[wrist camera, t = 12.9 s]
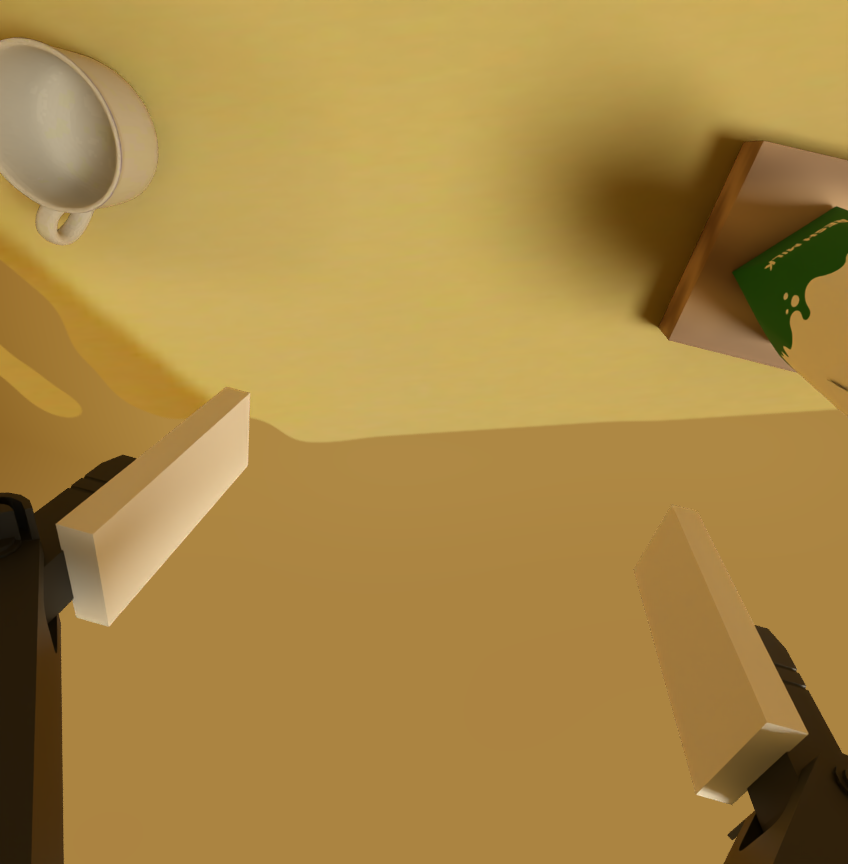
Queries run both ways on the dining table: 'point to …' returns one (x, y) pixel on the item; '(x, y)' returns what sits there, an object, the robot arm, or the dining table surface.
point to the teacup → (70, 135)
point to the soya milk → (806, 302)
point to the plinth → (749, 245)
